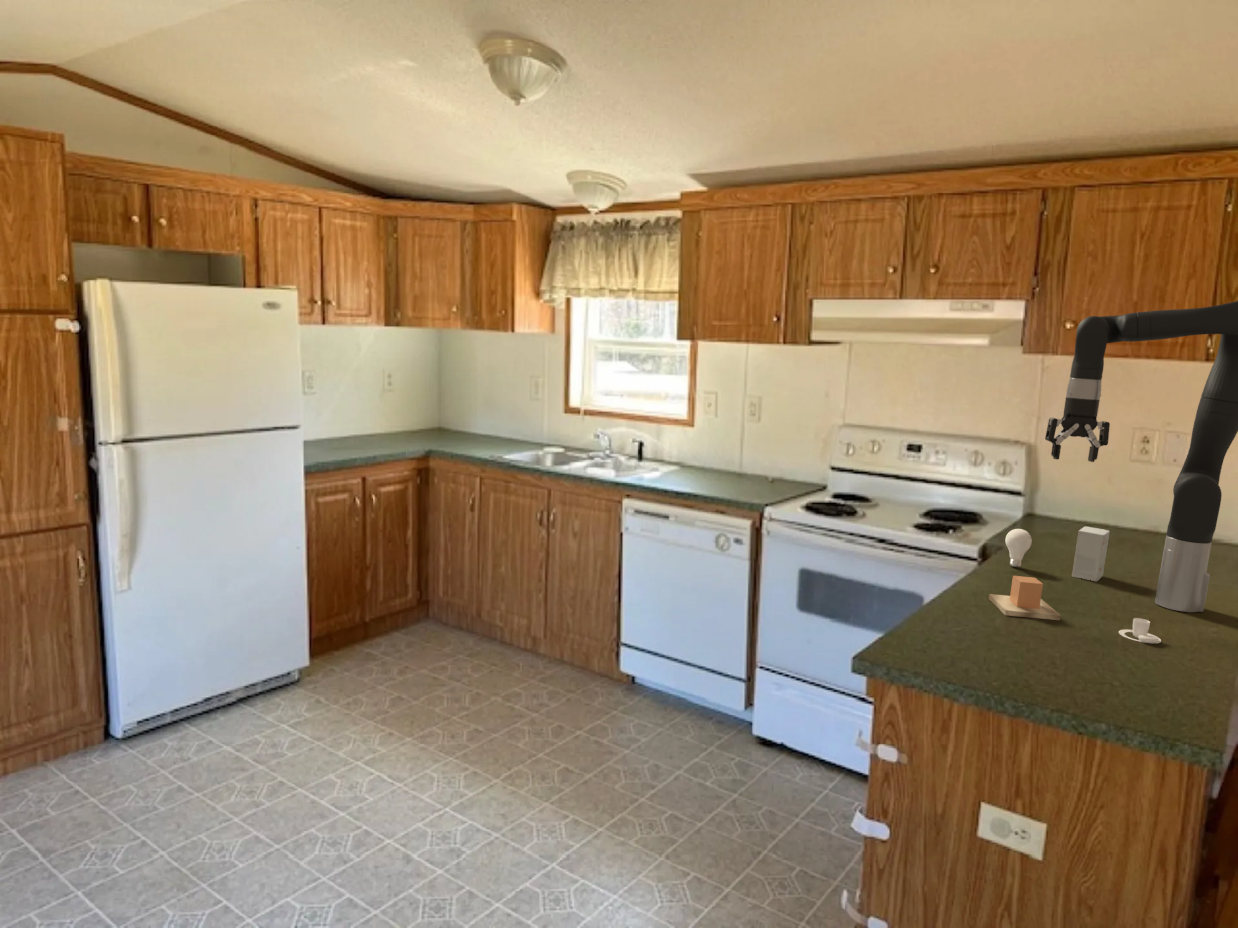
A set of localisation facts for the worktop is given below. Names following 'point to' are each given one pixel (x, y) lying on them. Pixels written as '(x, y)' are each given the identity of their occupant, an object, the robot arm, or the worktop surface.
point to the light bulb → (1017, 545)
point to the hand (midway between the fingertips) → (1073, 460)
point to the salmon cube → (1026, 592)
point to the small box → (1090, 553)
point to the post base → (1023, 608)
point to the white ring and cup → (1141, 631)
